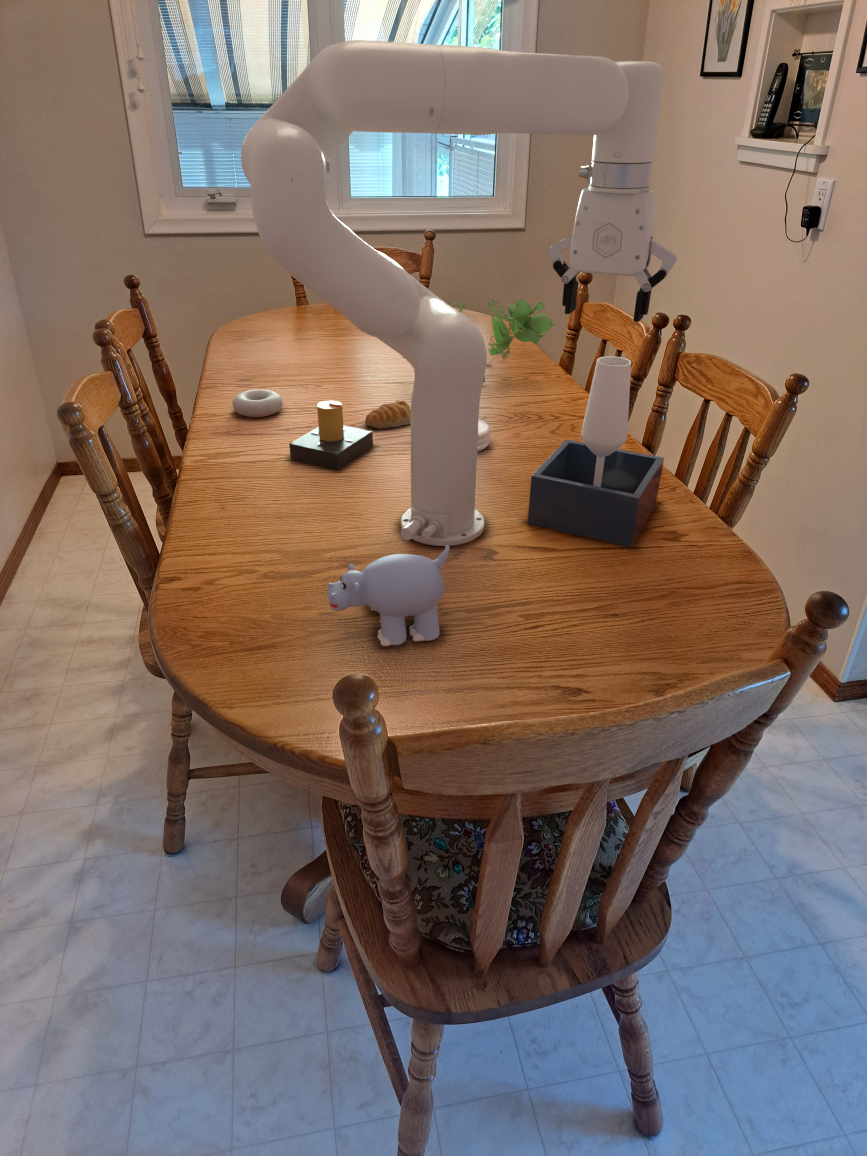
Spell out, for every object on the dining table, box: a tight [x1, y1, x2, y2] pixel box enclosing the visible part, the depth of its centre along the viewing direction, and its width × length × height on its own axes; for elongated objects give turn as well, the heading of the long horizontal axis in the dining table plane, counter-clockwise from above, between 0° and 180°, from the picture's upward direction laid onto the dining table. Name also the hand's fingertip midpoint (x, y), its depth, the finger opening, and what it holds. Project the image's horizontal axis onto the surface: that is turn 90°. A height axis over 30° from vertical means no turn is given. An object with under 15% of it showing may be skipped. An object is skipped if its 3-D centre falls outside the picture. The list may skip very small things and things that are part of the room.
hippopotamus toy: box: [326, 545, 451, 647], centre depth 94 cm, size 11×15×10 cm
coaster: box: [477, 419, 491, 452], centre depth 144 cm, size 10×10×4 cm
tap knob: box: [316, 400, 344, 442], centre depth 138 cm, size 4×4×6 cm
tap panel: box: [288, 424, 374, 471], centre depth 140 cm, size 12×10×3 cm
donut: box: [232, 388, 283, 418], centre depth 158 cm, size 10×4×10 cm
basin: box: [527, 439, 665, 548], centre depth 120 cm, size 16×16×8 cm
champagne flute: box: [580, 355, 632, 487], centre depth 115 cm, size 7×7×24 cm
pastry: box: [364, 400, 411, 430], centre depth 153 cm, size 9×7×4 cm
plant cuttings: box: [402, 299, 555, 383], centre depth 174 cm, size 35×17×22 cm
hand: (603, 315), depth 108 cm, fingers open, 9 cm apart
